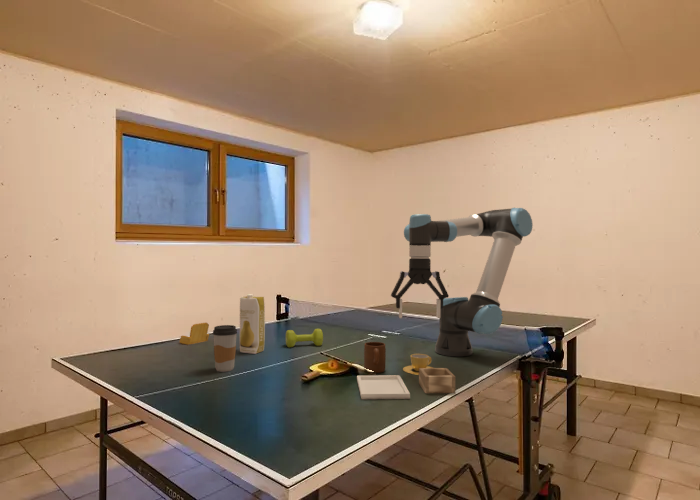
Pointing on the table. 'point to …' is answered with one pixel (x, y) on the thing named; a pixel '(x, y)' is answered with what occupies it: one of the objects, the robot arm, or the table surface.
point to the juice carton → (252, 324)
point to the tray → (382, 387)
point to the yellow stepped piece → (196, 334)
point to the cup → (418, 363)
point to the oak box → (436, 380)
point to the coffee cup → (224, 347)
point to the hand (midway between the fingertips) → (419, 317)
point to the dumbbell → (304, 337)
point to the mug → (375, 356)
